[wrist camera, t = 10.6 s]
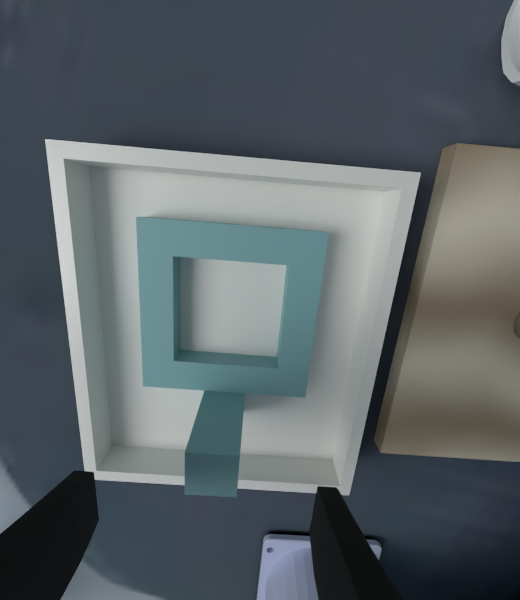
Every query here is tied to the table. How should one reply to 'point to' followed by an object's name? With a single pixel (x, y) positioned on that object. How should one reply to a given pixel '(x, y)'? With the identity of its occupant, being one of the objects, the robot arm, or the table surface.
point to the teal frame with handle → (224, 366)
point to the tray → (224, 305)
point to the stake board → (461, 318)
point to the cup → (511, 44)
